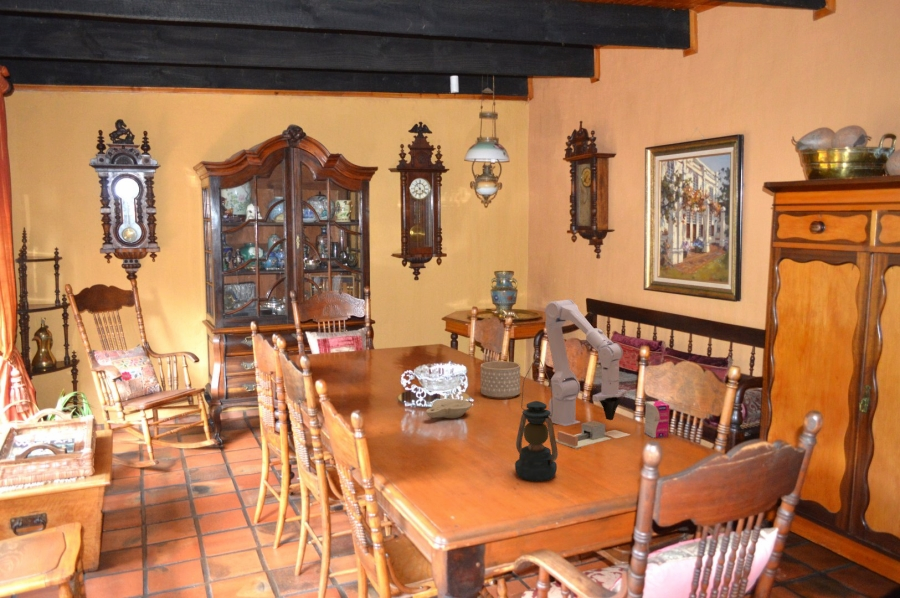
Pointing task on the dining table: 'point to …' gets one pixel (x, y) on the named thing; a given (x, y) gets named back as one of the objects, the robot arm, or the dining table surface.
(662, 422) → the supplement box
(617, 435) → the pad
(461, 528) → the dining table surface
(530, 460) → the lantern
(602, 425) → the clip
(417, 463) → the dining table surface
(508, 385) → the planter
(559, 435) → the rail board
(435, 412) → the oil lamp
